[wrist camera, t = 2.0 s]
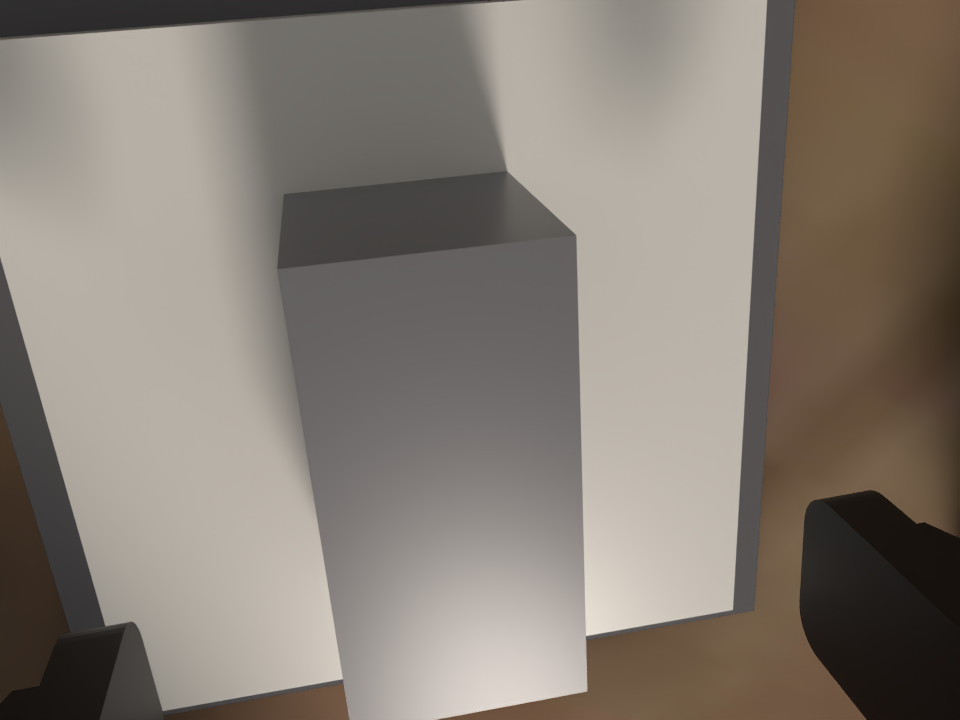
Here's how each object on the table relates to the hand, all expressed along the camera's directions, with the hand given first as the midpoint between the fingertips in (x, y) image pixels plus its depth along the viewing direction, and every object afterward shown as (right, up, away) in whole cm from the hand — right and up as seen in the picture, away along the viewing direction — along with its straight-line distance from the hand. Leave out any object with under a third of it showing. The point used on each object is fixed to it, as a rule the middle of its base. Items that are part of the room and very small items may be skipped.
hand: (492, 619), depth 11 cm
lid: (-1, +3, +6) cm, 7 cm away
